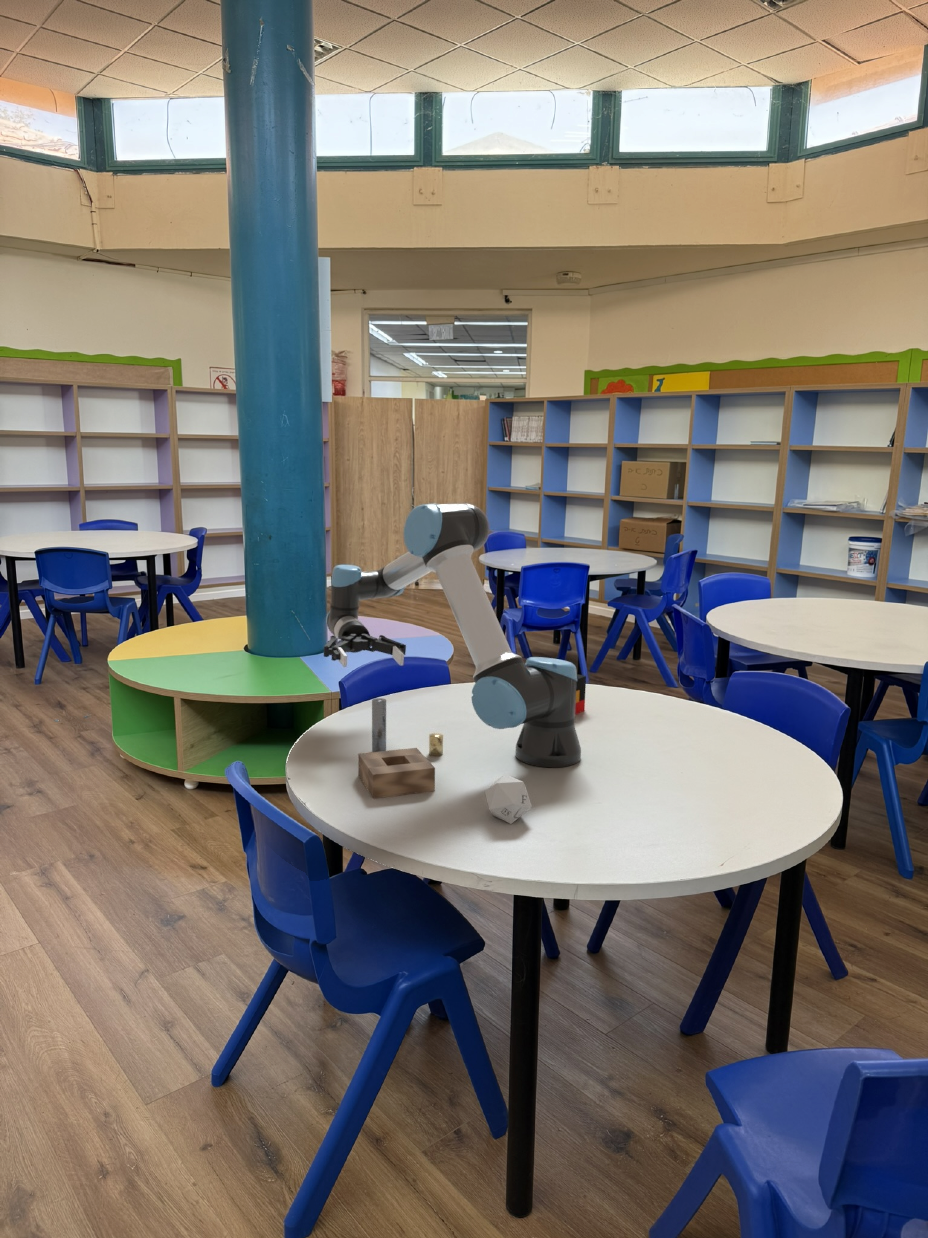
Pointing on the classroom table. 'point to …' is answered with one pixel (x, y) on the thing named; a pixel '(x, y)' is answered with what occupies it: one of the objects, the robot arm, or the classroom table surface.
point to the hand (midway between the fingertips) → (374, 660)
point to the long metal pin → (378, 725)
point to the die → (508, 798)
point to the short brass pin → (435, 744)
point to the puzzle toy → (580, 694)
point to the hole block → (396, 772)
